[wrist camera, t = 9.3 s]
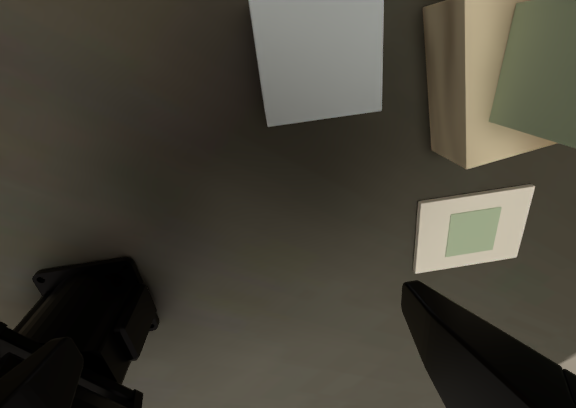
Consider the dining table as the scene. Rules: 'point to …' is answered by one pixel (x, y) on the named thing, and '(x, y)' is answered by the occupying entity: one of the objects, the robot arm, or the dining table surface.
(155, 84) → the dining table surface
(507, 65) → the sage cube
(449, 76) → the birch block
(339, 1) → the blue-grey cube
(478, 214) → the card
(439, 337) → the robot arm
